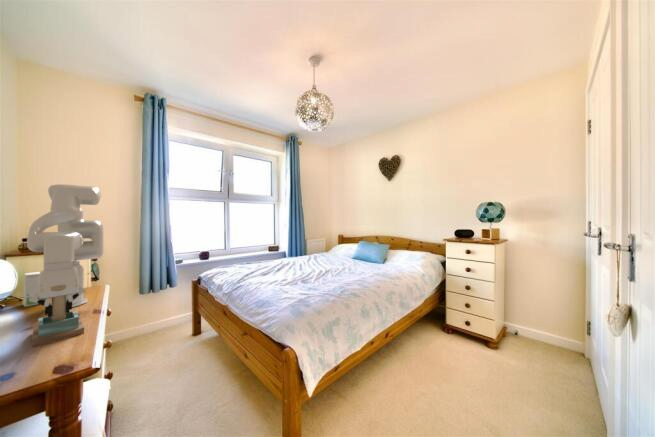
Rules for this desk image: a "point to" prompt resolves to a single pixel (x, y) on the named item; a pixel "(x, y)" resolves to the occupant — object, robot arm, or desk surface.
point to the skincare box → (30, 287)
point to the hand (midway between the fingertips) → (58, 313)
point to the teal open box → (57, 328)
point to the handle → (58, 305)
